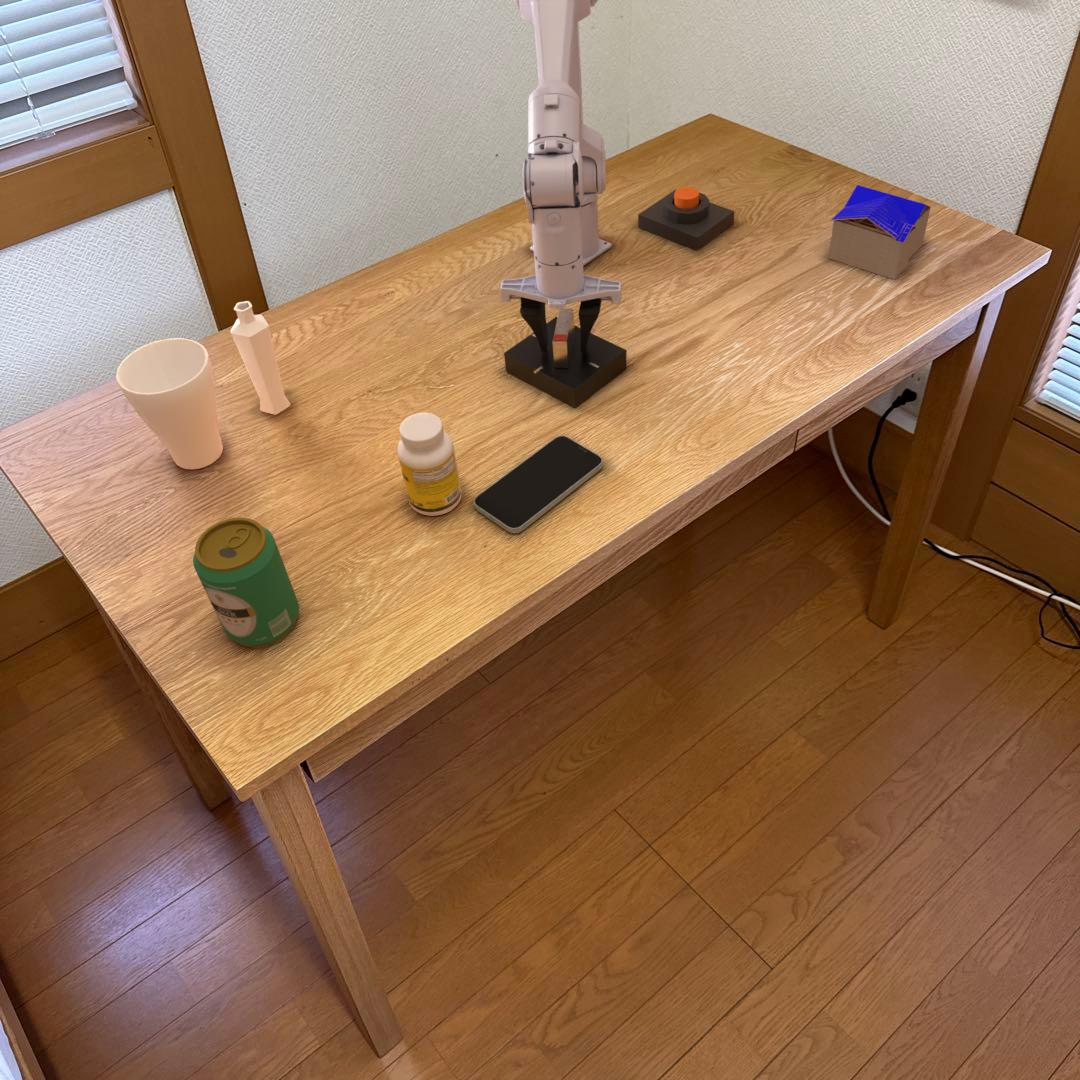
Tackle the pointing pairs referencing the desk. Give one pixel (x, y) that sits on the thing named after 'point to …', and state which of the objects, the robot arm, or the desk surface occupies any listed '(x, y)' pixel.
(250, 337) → the perfume bottle
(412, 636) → the desk surface
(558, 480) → the smartphone
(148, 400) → the cup
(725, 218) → the button block
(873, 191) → the house
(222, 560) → the beverage can
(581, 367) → the panel
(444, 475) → the pill bottle
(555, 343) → the tap handle
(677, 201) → the button
